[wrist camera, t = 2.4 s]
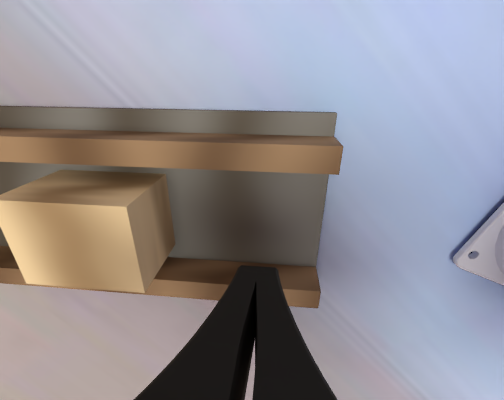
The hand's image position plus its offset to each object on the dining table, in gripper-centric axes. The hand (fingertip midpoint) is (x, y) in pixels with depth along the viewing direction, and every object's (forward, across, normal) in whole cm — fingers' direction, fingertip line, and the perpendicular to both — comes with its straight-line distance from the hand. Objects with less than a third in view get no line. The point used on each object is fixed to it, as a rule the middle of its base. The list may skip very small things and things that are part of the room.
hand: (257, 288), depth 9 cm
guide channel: (+6, +8, 0) cm, 10 cm away
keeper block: (+6, +8, 0) cm, 10 cm away
